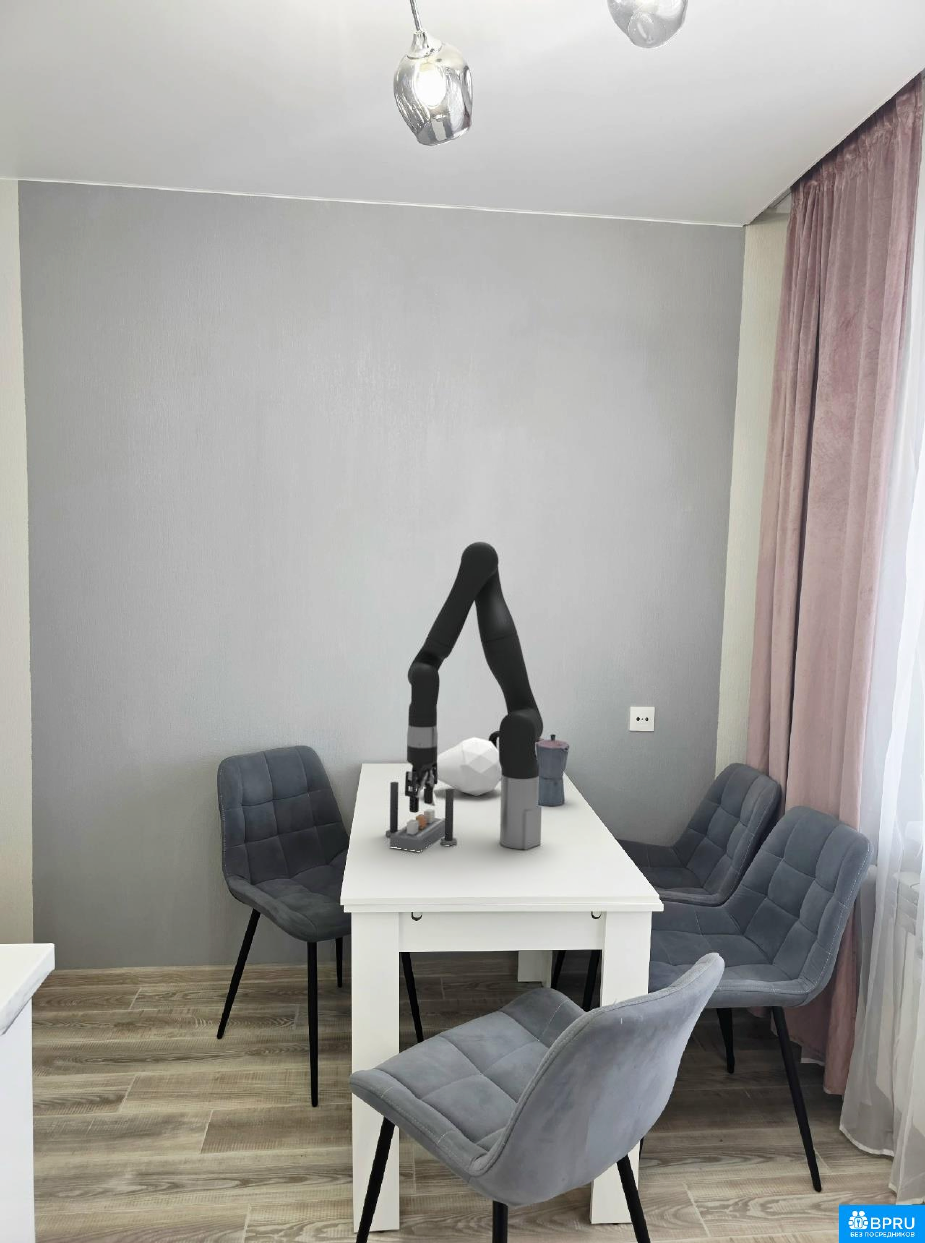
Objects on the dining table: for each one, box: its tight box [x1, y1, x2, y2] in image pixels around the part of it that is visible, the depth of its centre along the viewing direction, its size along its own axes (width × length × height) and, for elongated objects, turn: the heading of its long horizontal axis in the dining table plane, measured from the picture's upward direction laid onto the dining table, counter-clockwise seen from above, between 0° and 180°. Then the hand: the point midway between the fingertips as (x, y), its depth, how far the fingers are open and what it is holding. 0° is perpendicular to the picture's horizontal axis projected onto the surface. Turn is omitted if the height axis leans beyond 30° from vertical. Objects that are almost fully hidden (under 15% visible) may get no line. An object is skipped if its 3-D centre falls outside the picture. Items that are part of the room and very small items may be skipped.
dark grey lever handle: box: [385, 781, 400, 838], centre depth 227 cm, size 4×4×14 cm
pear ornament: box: [409, 736, 501, 806], centre depth 264 cm, size 16×22×28 cm
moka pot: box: [535, 733, 570, 807], centre depth 259 cm, size 10×15×20 cm, turn 41°
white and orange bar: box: [406, 808, 436, 835], centre depth 224 cm, size 13×2×3 cm, turn 158°
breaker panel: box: [389, 817, 445, 853], centre depth 224 cm, size 18×8×4 cm, turn 158°
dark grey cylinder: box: [440, 788, 458, 847], centre depth 221 cm, size 4×4×14 cm
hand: (421, 807), depth 224 cm, fingers open, 8 cm apart
